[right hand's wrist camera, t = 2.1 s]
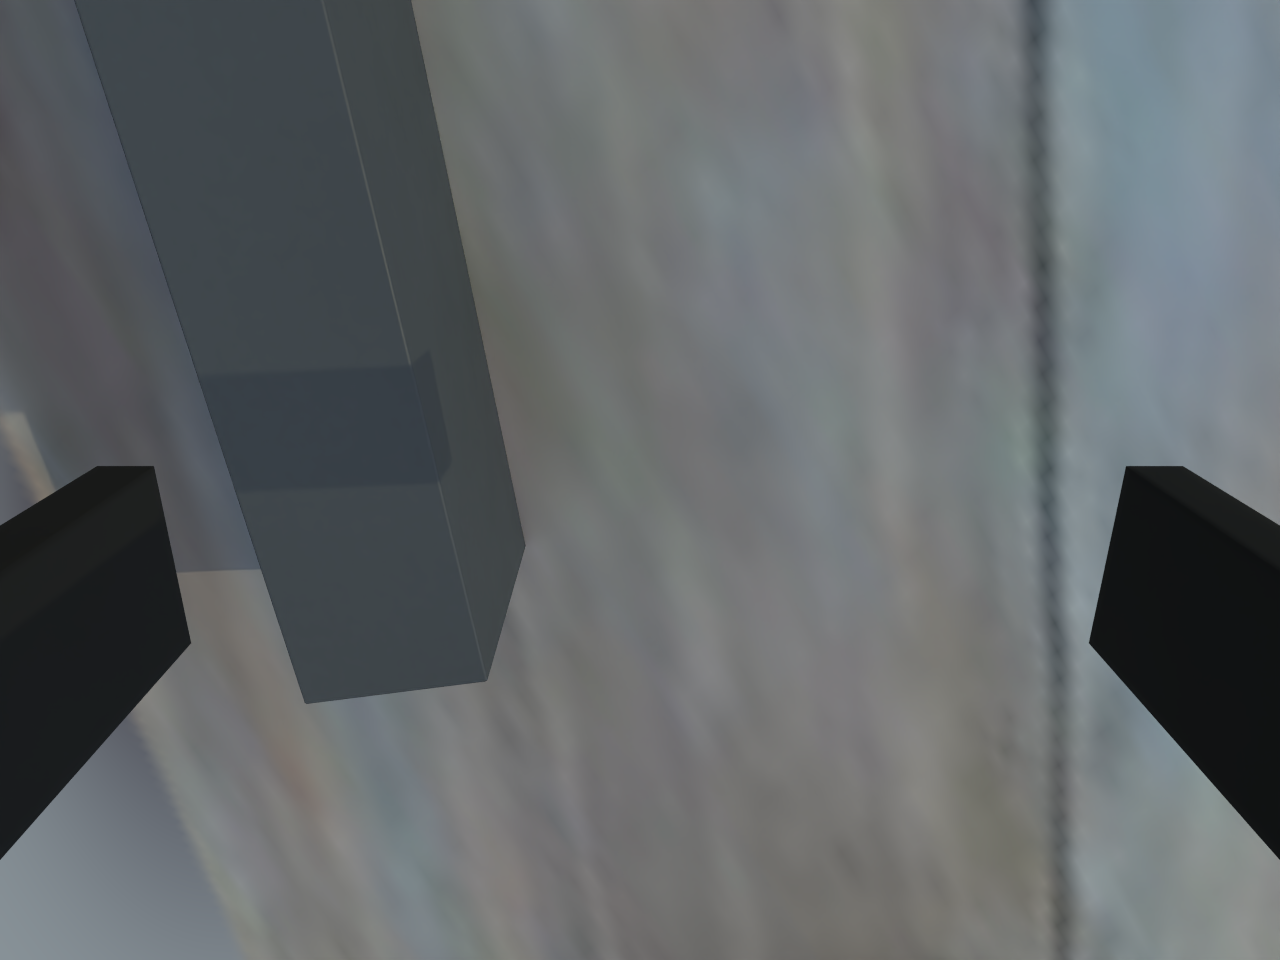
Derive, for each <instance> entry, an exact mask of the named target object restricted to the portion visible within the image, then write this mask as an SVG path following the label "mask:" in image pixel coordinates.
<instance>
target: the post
mask: <svg viewBox="0 0 1280 960" xmlns="http://www.w3.org/2000/svg"><path fill="white" fill-rule="evenodd" d="M74 1H75V4H76V7H77V10H78V13H79V16H80V19H81V22H82V25H83V28H84V31H85V34H86V37H87V40H88V43H89V46H90V50H91V53H92V56H93V59H94V62H95V65H96V68H97V71H98V74H99V77H100V80H101V83H102V86H103V89H104V92H105V95H106V98H107V101H108V104H109V107H110V110H111V114H112V117H113V120H114V123H115V126H116V129H117V132H118V135H119V138H120V141H121V144H122V147H123V150H124V153H125V156H126V159H127V162H128V165H129V168H130V171H131V174H132V177H133V181H134V184H135V187H136V190H137V193H138V196H139V199H140V202H141V205H142V208H143V211H144V214H145V217H146V220H147V223H148V226H149V229H150V232H151V235H152V238H153V241H154V245H155V248H156V251H157V254H158V257H159V260H160V263H161V266H162V269H163V272H164V275H165V278H166V281H167V284H168V287H169V290H170V293H171V296H172V299H173V302H174V305H175V309H176V312H177V315H178V318H179V321H180V324H181V327H182V330H183V333H184V336H185V339H186V342H187V345H188V348H189V351H190V354H191V357H192V360H193V363H194V366H195V369H196V373H197V376H198V379H199V382H200V385H201V388H202V391H203V394H204V397H205V400H206V403H207V406H208V409H209V412H210V415H211V418H212V421H213V424H214V427H215V430H216V433H217V436H218V440H219V443H220V446H221V449H222V452H223V455H224V458H225V461H226V464H227V467H228V470H229V473H230V476H231V479H232V482H233V485H234V488H235V491H236V494H237V497H238V500H239V504H240V507H241V510H242V513H243V516H244V519H245V522H246V525H247V528H248V531H249V534H250V537H251V540H252V543H253V546H254V549H255V552H256V555H257V558H258V561H259V564H260V568H261V571H262V574H263V577H264V580H265V583H266V586H267V589H268V592H269V595H270V598H271V601H272V604H273V607H274V610H275V613H276V616H277V619H278V622H279V625H280V628H281V631H282V635H283V638H284V641H285V644H286V647H287V650H288V653H289V656H290V659H291V662H292V665H293V668H294V671H295V674H296V677H297V680H298V683H299V686H300V689H301V692H302V695H303V699H304V702H305V703H306V704H309V703H317V702H325V701H333V700H341V699H349V698H357V697H365V696H372V695H380V694H388V693H396V692H404V691H412V690H420V689H428V688H436V687H444V686H452V685H460V684H468V683H476V682H484V681H487V679H488V676H489V672H490V669H491V665H492V662H493V658H494V655H495V651H496V647H497V644H498V640H499V637H500V633H501V630H502V626H503V623H504V619H505V616H506V612H507V609H508V605H509V602H510V598H511V595H512V591H513V588H514V584H515V581H516V577H517V574H518V570H519V567H520V563H521V560H522V556H523V552H524V549H525V542H524V537H523V532H522V528H521V523H520V518H519V513H518V509H517V504H516V499H515V494H514V489H513V485H512V480H511V475H510V470H509V466H508V461H507V456H506V451H505V447H504V442H503V437H502V432H501V428H500V423H499V418H498V413H497V408H496V404H495V399H494V394H493V389H492V385H491V380H490V375H489V370H488V366H487V361H486V356H485V351H484V346H483V342H482V337H481V332H480V327H479V323H478V318H477V313H476V308H475V304H474V299H473V294H472V289H471V285H470V280H469V275H468V270H467V265H466V261H465V256H464V251H463V246H462V242H461V237H460V232H459V227H458V223H457V218H456V213H455V208H454V204H453V199H452V194H451V189H450V184H449V180H448V175H447V170H446V165H445V161H444V156H443V151H442V146H441V142H440V137H439V132H438V127H437V123H436V118H435V113H434V108H433V103H432V99H431V94H430V89H429V84H428V80H427V75H426V70H425V65H424V61H423V56H422V51H421V46H420V42H419V37H418V32H417V27H416V22H415V18H414V13H413V8H412V3H411V0H74Z"/></svg>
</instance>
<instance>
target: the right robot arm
mask: <svg viewBox="0 0 1280 960" xmlns="http://www.w3.org/2000/svg"><path fill="white" fill-rule="evenodd" d="M190 644H191V641H190V636H189V631H188V626H187V622H186V617H185V612H184V607H183V603H182V598H181V593H180V588H179V584H178V579H177V574H176V569H175V565H174V560H173V555H172V550H171V546H170V541H169V536H168V531H167V527H166V522H165V517H164V512H163V508H162V503H161V498H160V493H159V489H158V484H157V479H156V474H155V470H154V466H97V467H95V468H93V469H92V470H90V471H89V472H87V473H85V474H84V475H82V476H80V477H79V478H77V479H75V480H74V481H72V482H71V483H69V484H67V485H66V486H64V487H62V488H61V489H59V490H58V491H56V492H54V493H53V494H51V495H49V496H48V497H46V498H44V499H43V500H41V501H40V502H38V503H36V504H35V505H33V506H31V507H30V508H28V509H27V510H25V511H23V512H22V513H20V514H18V515H17V516H15V517H14V518H12V519H10V520H9V521H7V522H5V523H4V524H2V525H0V859H1V858H2V857H3V856H4V855H5V854H6V853H7V851H8V850H9V849H10V848H11V847H12V846H13V845H14V844H15V842H16V841H17V840H18V839H19V838H20V837H21V836H22V834H23V833H24V832H25V831H26V830H27V829H28V828H29V826H30V825H31V824H32V823H33V822H34V821H35V820H36V819H37V817H38V816H39V815H40V814H41V813H42V812H43V811H44V809H45V808H46V807H47V806H48V805H49V804H50V803H51V801H52V800H53V799H54V798H55V797H56V796H57V795H58V794H59V792H60V791H61V790H62V789H63V788H64V787H65V786H66V784H67V783H68V782H69V781H70V780H71V779H72V778H73V777H74V775H75V774H76V773H77V772H78V771H79V770H80V769H81V767H82V766H83V765H84V764H85V763H86V762H87V761H88V759H89V758H90V757H91V756H92V755H93V754H94V753H95V752H96V750H97V749H98V748H99V747H100V746H101V745H102V744H103V742H104V741H105V740H106V739H107V738H108V737H109V736H110V734H111V733H112V732H113V731H114V730H115V729H116V728H117V727H118V725H119V724H120V723H121V722H122V721H123V720H124V719H125V718H126V716H127V715H128V714H129V713H130V712H131V711H132V710H133V708H134V707H135V706H136V705H137V704H138V703H139V702H140V701H141V699H142V698H143V697H144V696H145V695H146V694H147V693H148V691H149V690H150V689H151V688H152V687H153V686H154V685H155V683H156V682H157V681H158V680H159V679H160V678H161V677H162V676H163V674H164V673H165V672H166V671H167V670H168V669H169V668H170V666H171V665H172V664H173V663H174V662H175V661H176V660H177V659H178V657H179V656H180V655H181V654H182V653H183V652H184V651H185V649H186V648H187V647H188V646H189V645H190ZM1089 644H1090V645H1091V646H1092V647H1093V648H1094V649H1095V651H1096V652H1097V653H1098V654H1099V655H1100V656H1101V657H1102V659H1103V660H1104V661H1105V662H1106V663H1107V664H1108V665H1109V666H1110V668H1111V669H1112V670H1113V671H1114V672H1115V673H1116V674H1117V676H1118V677H1119V678H1120V679H1121V680H1122V681H1123V682H1124V683H1125V685H1126V686H1127V687H1128V688H1129V689H1130V690H1131V691H1132V693H1133V694H1134V695H1135V696H1136V697H1137V698H1138V699H1139V701H1140V702H1141V703H1142V704H1143V705H1144V706H1145V707H1146V708H1147V710H1148V711H1149V712H1150V713H1151V714H1152V715H1153V716H1154V718H1155V719H1156V720H1157V721H1158V722H1159V723H1160V724H1161V725H1162V727H1163V728H1164V729H1165V730H1166V731H1167V732H1168V733H1169V735H1170V736H1171V737H1172V738H1173V739H1174V740H1175V741H1176V743H1177V744H1178V745H1179V746H1180V747H1181V748H1182V749H1183V750H1184V752H1185V753H1186V754H1187V755H1188V756H1189V757H1190V758H1191V760H1192V761H1193V762H1194V763H1195V764H1196V765H1197V766H1198V767H1199V769H1200V770H1201V771H1202V772H1203V773H1204V774H1205V775H1206V777H1207V778H1208V779H1209V780H1210V781H1211V782H1212V783H1213V785H1214V786H1215V787H1216V788H1217V789H1218V790H1219V791H1220V792H1221V794H1222V795H1223V796H1224V797H1225V798H1226V799H1227V800H1228V802H1229V803H1230V804H1231V805H1232V806H1233V807H1234V808H1235V809H1236V811H1237V812H1238V813H1239V814H1240V815H1241V816H1242V817H1243V819H1244V820H1245V821H1246V822H1247V823H1248V824H1249V825H1250V827H1251V828H1252V829H1253V830H1254V831H1255V832H1256V833H1257V834H1258V836H1259V837H1260V838H1261V839H1262V840H1263V841H1264V842H1265V844H1266V845H1267V846H1268V847H1269V848H1270V849H1271V850H1272V851H1273V853H1274V854H1275V855H1276V856H1277V857H1278V858H1279V859H1280V525H1278V524H1276V523H1275V522H1273V521H1271V520H1270V519H1268V518H1267V517H1265V516H1263V515H1262V514H1260V513H1258V512H1257V511H1255V510H1253V509H1252V508H1250V507H1249V506H1247V505H1245V504H1244V503H1242V502H1240V501H1239V500H1237V499H1236V498H1234V497H1232V496H1231V495H1229V494H1227V493H1226V492H1224V491H1222V490H1221V489H1219V488H1218V487H1216V486H1214V485H1213V484H1211V483H1209V482H1208V481H1206V480H1205V479H1203V478H1201V477H1200V476H1198V475H1196V474H1195V473H1193V472H1191V471H1190V470H1188V469H1187V468H1185V467H1183V466H1126V469H1125V474H1124V479H1123V484H1122V488H1121V493H1120V498H1119V503H1118V507H1117V512H1116V517H1115V522H1114V527H1113V531H1112V536H1111V541H1110V546H1109V550H1108V555H1107V560H1106V565H1105V569H1104V574H1103V579H1102V584H1101V588H1100V593H1099V598H1098V603H1097V607H1096V612H1095V617H1094V622H1093V626H1092V631H1091V636H1090V641H1089Z"/></svg>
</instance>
